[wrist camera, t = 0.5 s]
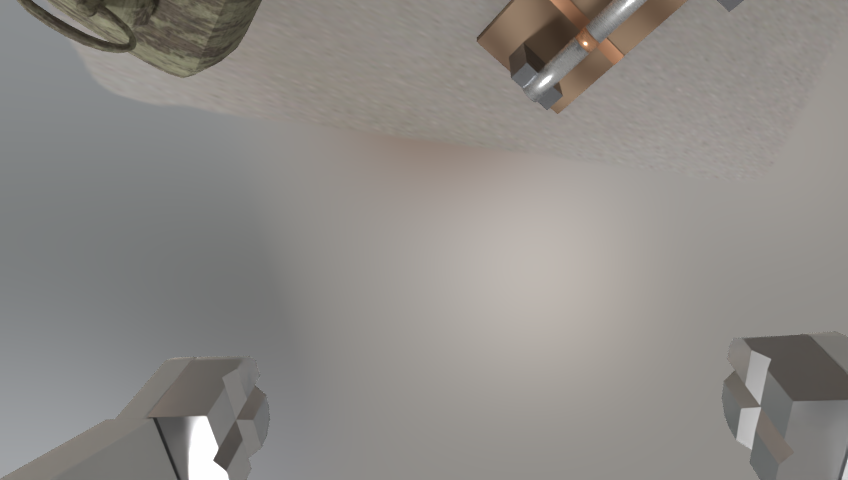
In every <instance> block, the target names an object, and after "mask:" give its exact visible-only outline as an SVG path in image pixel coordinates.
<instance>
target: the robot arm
mask: <svg viewBox="0 0 848 480" xmlns="http://www.w3.org/2000/svg"><path fill="white" fill-rule="evenodd" d="M727 360H728V361H729V363H730V364H731V366H732V367H733V368H734V370H735V371H734V372H733V373H732V374H731V375H730V376H729V377H728V378H727V379H725V380H724V383H723V391H722V403H723V410H724V416H725V418H726V421H727V424H728V426H729V429H730V430H731V432H732V434H733V435H734V437H735V439H736V440H737V441H738V442H740V443H742V444H743V445H745V446H746V447H748V448H749V449H751V450H752V452H751V457H750V464H751V466H752V467H753V469H754V471H755V472H756V474H757V475H758V477H759V479H760V480H848V337H847V336H845V335H843V334H840V333H838V332H823V333H807V334H800V335H787V336H767V337H766V336H765V337H745V338H733V340H732V342H731V344H730V346H729V350H728V356H727ZM259 377H260V373H259V370H258V367H257V363H256V361H255V360H254V359H253V358H251V357H250V356H227V357H226V356H225V357H224V356H223V357H198V358H197V357H184V358H183V357H182V358H172V359H169V360H166V361H165V362H164V363H163V364H162V365H161V366H160V367H159V369H158V370H157V371H156V372H155V373H154V374H153V376H152V377H151V378H150V379H149V380H148V381H147V383H146V384H145V385H144V386H143V387H142V388H141V390H140V391H139V392H138V393H137V394H136V395H135V396H134V398H133V399H132V400H131V401H130V402H129V403H128V405H127V406H126V407H125V408H124V409H123V410H122V412H121V413H120V414H119V415H118V416H117V417H116V419H110V420H105V421H103V422H101V423H99V424H97V425H96V426H94V427H92V428H91V429H89V430H87V431H85V432H83V433H82V434H80V435H78V436H76V437H74V438H72V439H71V440H69V441H67V442H65V443H64V444H62V445H60V446H58V447H56V448H55V449H53V450H51V451H49V452H47V453H46V454H44V455H42V456H40V457H39V458H37V459H35V460H33V461H31V462H30V463H28V464H26V465H24V466H22V467H21V468H19V469H17V470H15V471H13V472H12V473H10V474H8V475H6V476H5V477H3V478H1V479H0V480H247V477H248V475H249V473H250V471H251V465H250V462H249V457H251V456H252V455H253V454H254V453H256V452H257V451H258V450H260V449H261V448H262V445H263V443H264V441H265V439H266V436H267V432H268V427H269V421H270V416H269V415H270V414H269V405H268V401H267V397H266V395H265V394H264V393H263V392H262V391H261V390H260V389H259V388H258V387H256V386H255V384H256V382H257V380H258V378H259Z"/></svg>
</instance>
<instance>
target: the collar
mask: <svg viewBox="0 0 848 480" xmlns="http://www.w3.org/2000/svg"><path fill="white" fill-rule="evenodd" d="M717 1H718V2H719V3H720V4H721V5H723V6H724V7H725V8H726V9H727V10H728V11H729V12H730V11H731V10H732V9H734V8H735V7H736V6H737V5H738V4H740V3H741V2H742V1H743V0H717Z"/></svg>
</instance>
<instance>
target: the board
mask: <svg viewBox="0 0 848 480" xmlns="http://www.w3.org/2000/svg"><path fill="white" fill-rule="evenodd" d="M611 1H612V0H511V1H510V2H509V3H508V4H507V6H506V7H505V8H504V9H503V10H502V11H501V12H500V13H499V14H498V15H497V17H496V18H495V19H494V20H493V21H492V22H491V23H490V24H489V25H488V26H487V28H486V29H485V30H484V31H483V32H482V33H481V34H480V35H479V36H478V37H477V42H478V43H479V44H480V45H481V46H482V47H483V48H484V49H486V50H487V51H488V52H489V53H490V54H491V55H492V56H493V57H495V58H496V59H497V60H498V61H499V62H500V63H501V64H502V65H503V66H505V67H506V68H507V69H508V70H509V71H510V63H509V56H510V55H511V54H512V53H513V52H514V51H515V50H516V49H517V48H518V47H519V46H520V45H521V44H522V43H523V42H524V43H525V44H526V45H527V46H528V47H529V48H530V49H531V50H532V51H533V52H534V53H535V54H536V55H538V56H539V57H540V58H541V59H542V60H543V61H544V62H545V63H546V64H547V63H548V62H549V61H550V60H551V59H552V58H553V57H554V56H555V55H556V54H557V53H558V52H559V51H560V50H561V49H562V48H563V47H564V46H566V45H567V44H568V43H569V42H570V41H571V40H572V39H573V38H574V37H575V36H576V35H577V34H578V33H579V32H580V31H581V30H582V29H583V28H584V27H585V26H586V25H587V24H588V23H590V22H591V21H592V20H593V19H594V18H595V17H596V16H597V15H598V14H599V13H600V12H601V11H602V10H603V9H604V8H605V7H606V6H607V5H608V4H609V3H610V2H611ZM686 1H687V0H647V1H646V2H645V3H644V4H643V5H642V6H641V7H639V8H638V9H637V10H636V11H635V12H634V13H633V14H632V15H631V16H630V17H629V18H627V19H626V20H625V21H624V22H623V23H622V24H621V25H620V26H619V27H618V28H617V29H615V30H614V31H613V32H612V33H611V34H610V35H609V36H608V37H607V38H606V39H605V40H604V41H602V42H601V43H600V44H599V45H598V46H597V47H596V48H595V49H594V50H593V51H592V52H590V53H589V54H588V55H587V56H586V57H585V58H584V59H583V60H582V61H581V62H580V63H579V64H577V65H576V66H575V67H574V68H573V69H572V70H571V71H570V72H569V73H568V74H567V75H565V76H564V77H563V78H562V79H561V80H560V81H559V83H560V86H561V90H562V94H563V97H561V98H560V99H559V100H558V101H557V102H556V103H555V104H554V105H552V106H551V107H550V108H551V109H552V110H554V111H555V112H556V113H557V114H558V113H560V112H561V111H562V110H563V109H564V108H565V107H566V106H568V105H569V104H570V103H571V102H572V101H573V100H574V99H576V98H577V97H578V96H579V95H580V94H581V93H582V92H583V91H585V90H586V89H587V88H588V87H589V86H590V85H591V84H593V83H594V82H595V81H596V80H597V79H598V78H599V77H601V76H602V75H603V74H604V73H605V72H606V71H607V70H609V69H610V68H611V67H612V66H613V65H615V64H616V63H617V62H618V61H619V60H621V59H622V58H623V57H624V56H625V55H626V54H627V53H628V52H629V51H630V50H631V49H633V48H634V47H635V46H636V45H637V44H638V43H639V42H640V41H642V40H643V39H644V38H645V37H646V36H647V35H648V34H650V33H651V32H652V31H653V30H654V29H655V28H656V27H658V26H659V25H660V24H661V23H662V22H663V21H664V20H666V19H667V18H668V17H669V16H670V15H671V14H672V13H674V12H675V11H676V10H677V9H678V8H679V7H680V6H682V5H683V4H684V3H685V2H686Z"/></svg>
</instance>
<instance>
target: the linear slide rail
mask: <svg viewBox="0 0 848 480" xmlns="http://www.w3.org/2000/svg"><path fill="white" fill-rule="evenodd" d="M646 1H647V0H612V1H611V2H610V3H609V4H608V5H607V6H606V7H605V8H604V9H603V10H602V11H601V12H600V13H599V14H598V15H597V16H596V17H595V18H594V19H593V20H592V21H591V22H590V23H588V24H587V25H586V26H585V27H584V28H583V29H582V30H581V31H580V32H579V33H578V34H577V35H576V36H575V37H574V38H573V39H572V40H571V41H570V42H569V43H568V44H567V45H566V46H564V47H563V48H562V49H561V50H560V51H559V52H558V53H557V54H556V55H555V56H554V57H553V58H552V59H551V60H550V61H549V62H548V63H547V64H546V63H545V62H544V61H543V60H542V59H541V58H540V57H539V56H538V55H536V54H535V53H534V52H533V51H532V50H531V49H530V48H529V47H528V46H527V45H526V44H525V43H524V42H523V43H522V44H521V45H520V46H519V47H518V48H517V49H516V50H515V51H514V52H513V53H512V54H511V55H510V56H509V63H510V72H511V78H512V79H513V80H514V81H515V82H516V83H517V84H518V85H520V86H521V87H522V89H523V91H524V93H525V94H526V95H527V96H528V97H529V98H530V99H531V100H532V101H533V102H539V103H540V104H541V105H542V106H543V107H544V108H545V109H546V110H548V109H549V108H550V107H551V106H552V105H554V104H555V103H556V102H557V101H558V100H559V99H560V98H561V97H563V94H562V90H561V86H560V83H559V81H560V80H561V79H562V78H563V77H564V76H565V75H567V74H568V73H569V72H570V71H571V70H572V69H573V68H574V67H575V66H576V65H577V64H579V63H580V62H581V61H582V60H583V59H584V58H585V57H586V56H587V55H588V54H589V53H590V52H592V51H593V50H594V49H595V48H596V47H597V46H598V45H599V44H600V43H601V42H602V41H604V40H605V39H606V38H607V37H608V36H609V35H610V34H611V33H612V32H613V31H614V30H615V29H617V28H618V27H619V26H620V25H621V24H622V23H623V22H624V21H625V20H626V19H627V18H629V17H630V16H631V15H632V14H633V13H634V12H635V11H636V10H637V9H638V8H639V7H641V6H642V5H643V4H644V3H645V2H646Z"/></svg>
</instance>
